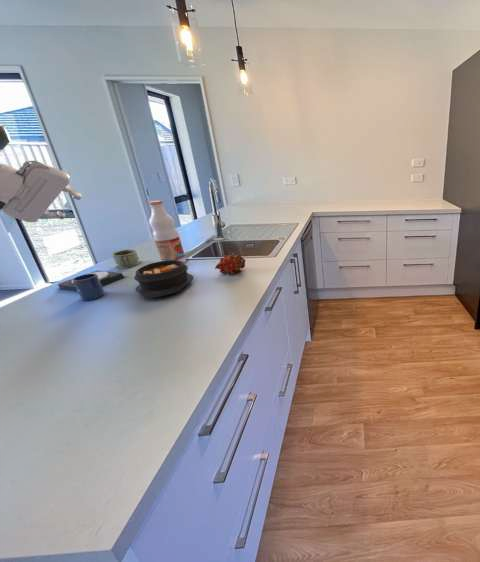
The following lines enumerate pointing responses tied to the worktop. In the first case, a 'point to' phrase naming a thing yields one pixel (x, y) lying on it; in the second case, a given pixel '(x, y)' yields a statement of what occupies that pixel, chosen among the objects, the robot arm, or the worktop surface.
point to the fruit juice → (165, 233)
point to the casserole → (162, 278)
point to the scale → (102, 275)
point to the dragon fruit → (231, 264)
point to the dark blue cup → (88, 286)
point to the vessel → (126, 258)
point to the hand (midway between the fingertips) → (72, 207)
